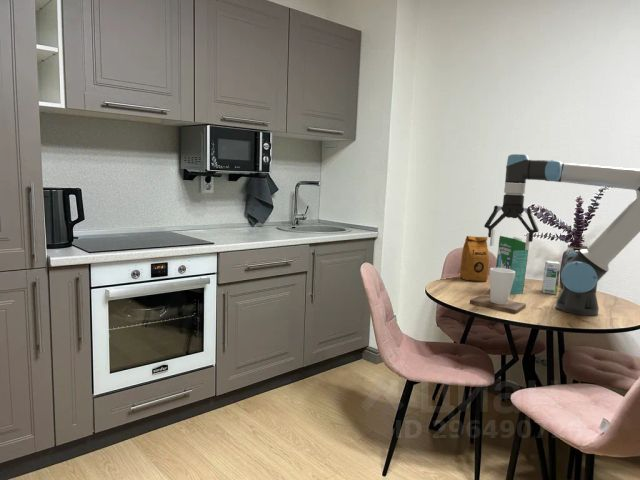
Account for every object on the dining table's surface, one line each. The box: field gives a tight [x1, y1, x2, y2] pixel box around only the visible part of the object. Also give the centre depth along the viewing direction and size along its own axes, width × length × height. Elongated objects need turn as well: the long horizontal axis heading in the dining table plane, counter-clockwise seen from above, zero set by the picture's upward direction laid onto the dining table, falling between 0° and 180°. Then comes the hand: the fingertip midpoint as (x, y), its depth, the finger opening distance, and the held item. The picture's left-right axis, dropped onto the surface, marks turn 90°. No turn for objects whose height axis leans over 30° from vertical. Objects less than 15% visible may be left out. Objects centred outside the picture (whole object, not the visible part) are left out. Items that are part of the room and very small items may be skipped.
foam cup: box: [488, 267, 515, 304], centre depth 193 cm, size 10×9×13 cm
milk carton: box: [495, 235, 529, 295], centre depth 219 cm, size 9×9×25 cm
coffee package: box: [459, 235, 490, 282], centre depth 239 cm, size 10×12×22 cm
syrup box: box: [541, 260, 561, 295], centre depth 223 cm, size 6×6×14 cm
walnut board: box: [469, 294, 527, 315], centre depth 194 cm, size 18×13×2 cm
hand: (508, 247), depth 194 cm, fingers open, 13 cm apart
